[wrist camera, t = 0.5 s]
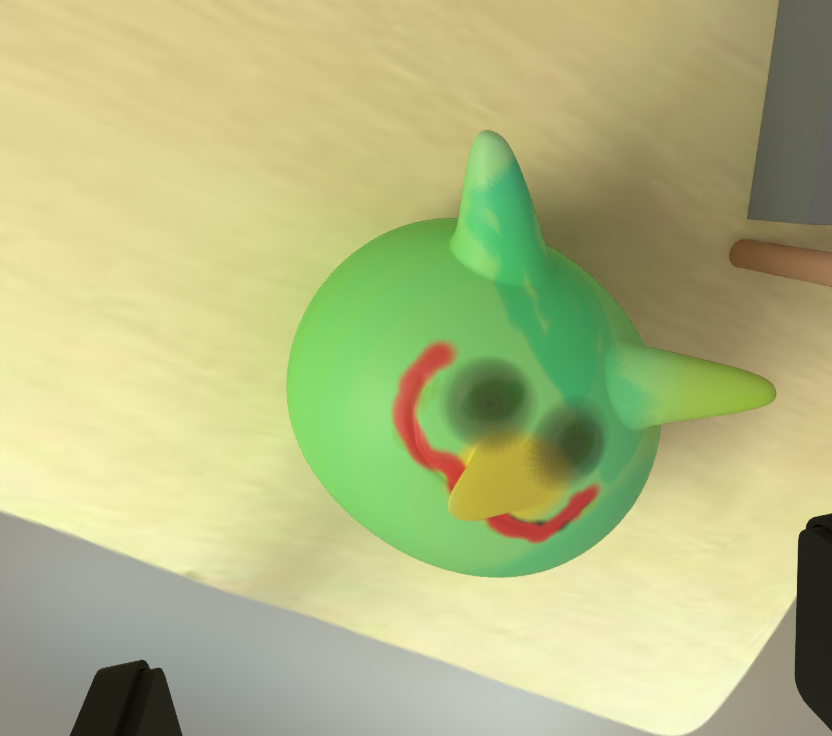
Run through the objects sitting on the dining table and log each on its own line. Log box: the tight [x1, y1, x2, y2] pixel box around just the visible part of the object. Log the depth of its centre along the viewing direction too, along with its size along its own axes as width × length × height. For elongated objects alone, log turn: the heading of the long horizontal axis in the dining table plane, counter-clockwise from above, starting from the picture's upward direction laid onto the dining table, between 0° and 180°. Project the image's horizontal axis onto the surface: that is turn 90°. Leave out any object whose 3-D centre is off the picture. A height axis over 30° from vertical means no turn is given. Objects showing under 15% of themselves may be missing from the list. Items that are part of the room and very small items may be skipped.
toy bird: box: [287, 130, 776, 577], centre depth 33 cm, size 18×17×15 cm
